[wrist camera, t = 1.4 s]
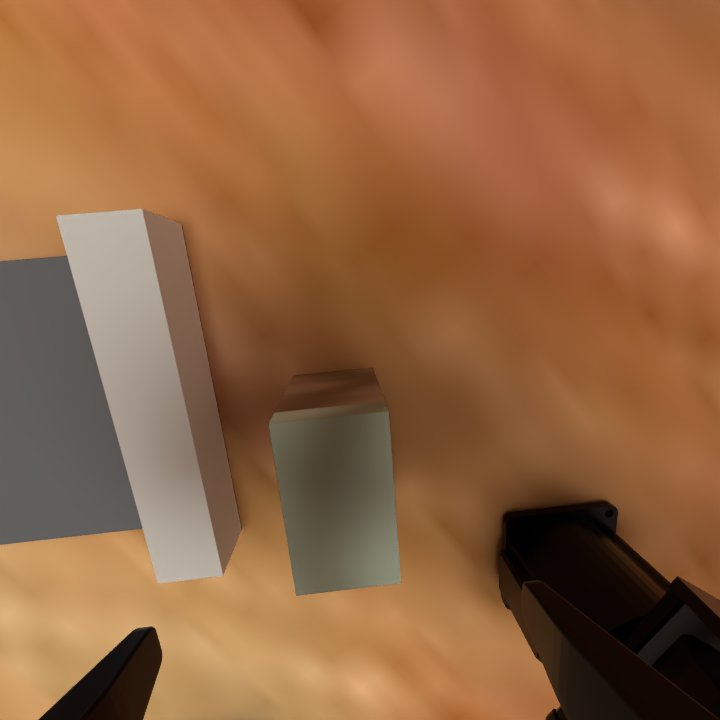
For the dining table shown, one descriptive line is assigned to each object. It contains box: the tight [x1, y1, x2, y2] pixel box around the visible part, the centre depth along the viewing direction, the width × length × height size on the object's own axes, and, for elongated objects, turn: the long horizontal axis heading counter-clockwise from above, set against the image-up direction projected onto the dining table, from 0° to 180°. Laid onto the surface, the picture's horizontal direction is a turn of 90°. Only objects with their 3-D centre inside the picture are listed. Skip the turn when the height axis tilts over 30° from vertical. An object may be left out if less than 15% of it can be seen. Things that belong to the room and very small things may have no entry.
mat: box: [0, 256, 142, 545], centre depth 16 cm, size 10×14×1 cm
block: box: [269, 368, 401, 596], centre depth 15 cm, size 4×7×6 cm, turn 5°
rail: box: [56, 209, 242, 583], centre depth 15 cm, size 3×16×3 cm, turn 5°
